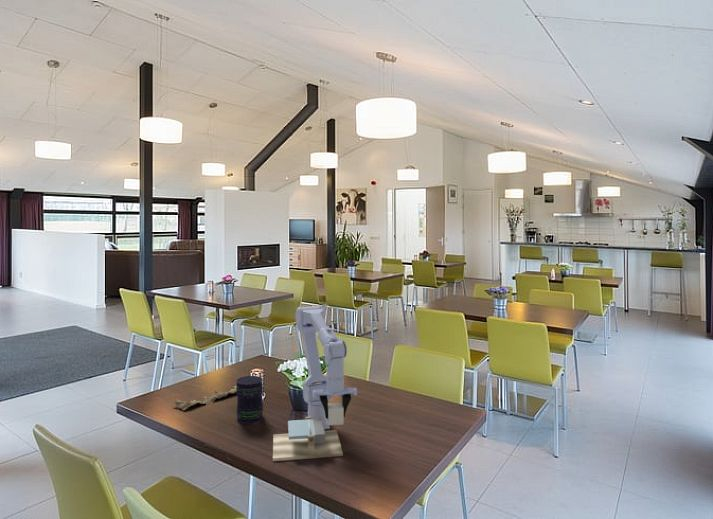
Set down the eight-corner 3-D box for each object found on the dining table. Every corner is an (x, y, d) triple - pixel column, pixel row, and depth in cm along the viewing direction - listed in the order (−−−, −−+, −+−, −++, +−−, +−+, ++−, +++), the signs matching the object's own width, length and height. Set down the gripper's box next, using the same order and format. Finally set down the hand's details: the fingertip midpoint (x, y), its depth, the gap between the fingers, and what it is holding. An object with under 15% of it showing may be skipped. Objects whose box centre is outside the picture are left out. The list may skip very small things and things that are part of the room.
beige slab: (273, 437, 161) (273, 418, 161) (336, 432, 165) (336, 414, 165) (272, 461, 145) (272, 440, 144) (342, 455, 148) (342, 435, 148)
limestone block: (326, 419, 158) (326, 403, 158) (341, 418, 159) (341, 402, 158) (328, 425, 153) (328, 409, 153) (343, 424, 154) (343, 408, 154)
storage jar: (234, 415, 180) (233, 378, 179) (259, 411, 184) (258, 374, 183) (240, 425, 171) (239, 385, 170) (266, 420, 175) (265, 381, 175)
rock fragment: (239, 387, 216) (239, 381, 216) (254, 391, 210) (254, 385, 210) (171, 407, 189) (171, 399, 189) (186, 412, 183) (186, 405, 183)
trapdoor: (288, 429, 160) (287, 420, 160) (321, 427, 162) (321, 418, 161) (288, 445, 148) (288, 436, 147) (325, 443, 149) (324, 433, 149)
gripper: (314, 382, 150) (314, 423, 151) (358, 379, 152) (358, 420, 153) (312, 375, 157) (312, 414, 158) (354, 373, 159) (354, 411, 160)
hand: (335, 416), depth 156 cm, fingers closed on limestone block, 5 cm apart
